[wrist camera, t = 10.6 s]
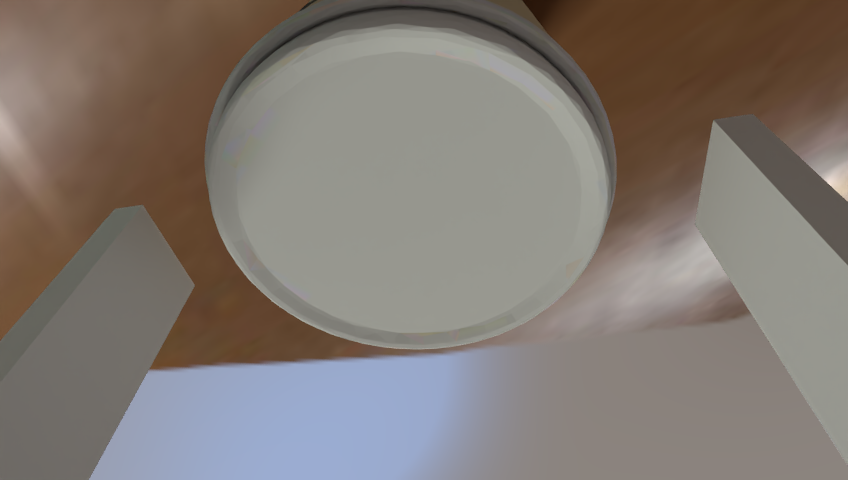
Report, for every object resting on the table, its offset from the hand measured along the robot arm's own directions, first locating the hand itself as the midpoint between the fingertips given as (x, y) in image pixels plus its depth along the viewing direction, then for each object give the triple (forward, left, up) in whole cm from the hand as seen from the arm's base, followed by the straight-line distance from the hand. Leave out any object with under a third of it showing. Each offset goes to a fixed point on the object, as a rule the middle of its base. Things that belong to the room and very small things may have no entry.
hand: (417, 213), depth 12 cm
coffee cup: (0, 0, -11) cm, 11 cm away
